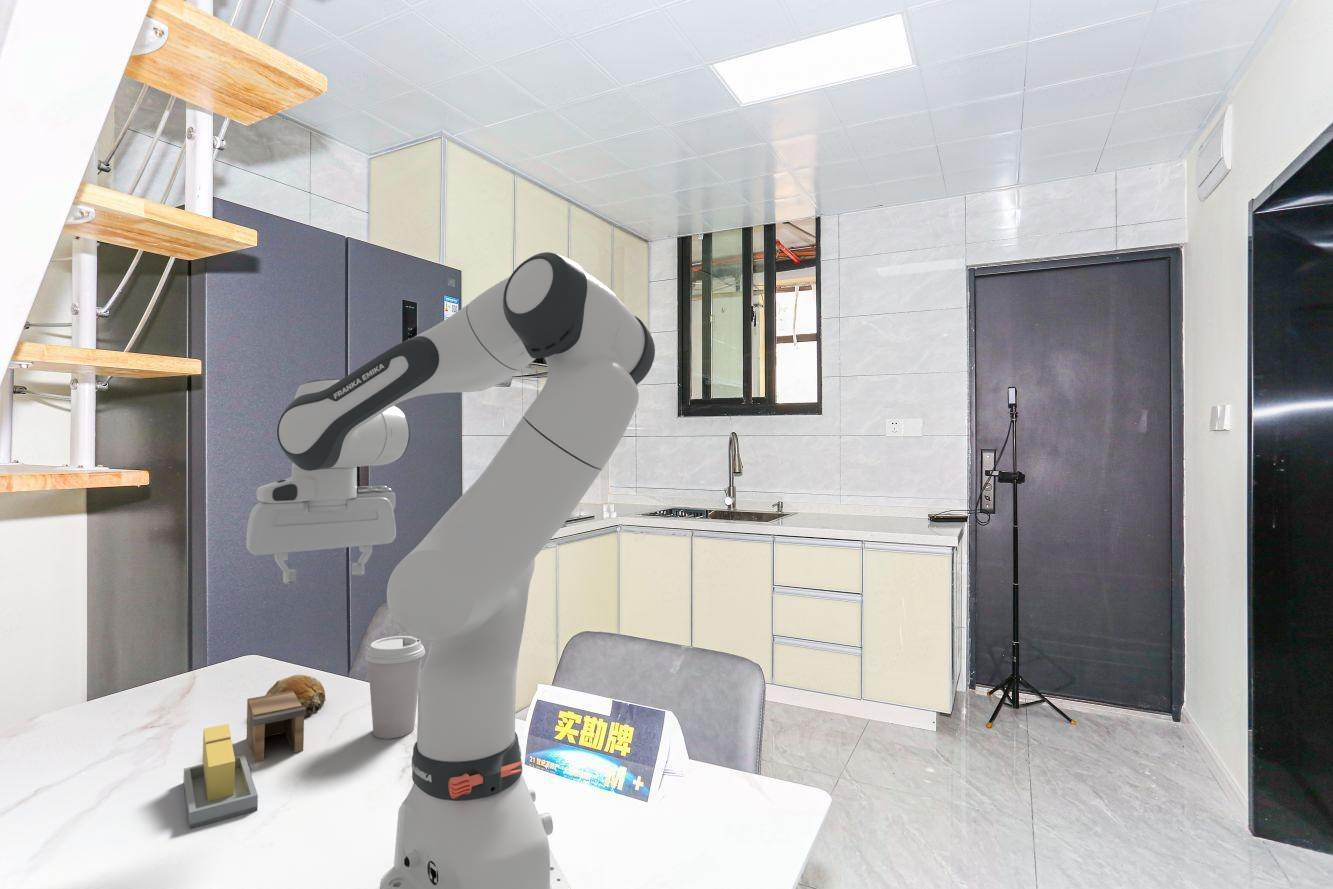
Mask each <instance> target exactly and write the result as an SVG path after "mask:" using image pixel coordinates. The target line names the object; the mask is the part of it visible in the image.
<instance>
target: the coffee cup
mask: <svg viewBox="0 0 1333 889" xmlns="http://www.w3.org/2000/svg"><path fill="white" fill-rule="evenodd" d="M421 641H422V640H420V639H417V638H414V637H412V636H410V635H394V636H388V637H387V636H386V637H383V638H380V639H376V640H374V641H372V642H371V643H370V645H369V648H368V650H367V651H366V652H365V657H364V659H365V661H367V664H368V678H369V693H370V705H371V707H370V708H371V719H372V721H371V722H372V732H373V736H374V737H376V738H379V739H383V738H384V739H386V740H387V739H396V738H401V737H405V736H407V735H409V734H411V733H412V732H413V731H414V730H415V726H416V725H415V724H416V715H417V708H418V682H419V677H420V673H421V670H422V662H423V661H422V660H423V656H425V654H426V650H425V647H424V645H423V644H422V642H421Z"/></svg>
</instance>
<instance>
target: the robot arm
mask: <svg viewBox="0 0 1333 889" xmlns="http://www.w3.org/2000/svg"><path fill="white" fill-rule="evenodd" d="M655 356H656V345H655V342H654V339H653V336H652V334H651V333H650V331H649V329H648V328H647V326H646V325H645V323H644V322H643V321H642V320H641V319H640V318H639V317H638V316H636V315H634V314H633V312H631V311H630V310H629V308H628V307H627V306H626V305H625V304H624V303H623V302H622V301H621V300H620V299H619V298H618V296H617V295H616V294H615V293H614V292H613V291H612V290H611V289H610V288H609V287H607V286H606V285H605V284H604V283H603V282H601V281H599V280H598V279H597V278H595V277H594V276H592V275H591V274H589V273H587V272H586V271H584V269H583V268H582V266H580V265H579V264H578V263H577V262H575V261H573V260H571V259H569V258H567V257H565V256H562V255H561V254H558V253H556V252H555V253H554V252H548V251H547V252H546V251H545V252H540V253H537V254H534V255H532V256H530V257H529V258H527V259H526V260H523V261H522V263H520V264H519V265H518V266H517V267H516V269H514V271H513V272H512V273H511V275H510V276H508V277H507V278H504V279H503V280H501V281H499V282H498V283H496V284H494V285H493V286H491V287H490V288H487V289H486V290H485V291H483V292H481V293H480V294H479V295H478V296H476V297H475V298H474V299H472V300H471V301H470V302H469V303H467V304H466V305H465V306H463V307H462V308H461V309H459V310H458V311H456V312H455V313H453V314H452V315H451V316H449V317H447V318H445V319H444V320H442V321H441V322H439V323H438V324H436V325H434V326H433V327H431V328H428V329H427V330H425V331H423V332H421V333H419V334H417V335H415V336H413V337H410V338H409V339H406V340H405V341H403V342H400V343H399V344H396V345H394V346H392V347H391V348H389V349H387V350H385V351H384V352H383V353H381V354H379V355H377V356H376V357H374V358H373V359H371V360H370V361H367V362H366V363H364V364H363V365H362V366H359V367H358V368H357V369H355V370H354V371H352V372H351V373H349V374H348V375H346V376H345V377H343V378H341V379H338V378H336V379H335V378H326V379H315V380H311V381H308V382H305V383H302V384H301V385H300V386H299V387H298V388H297V391H296V393H295V396H294V400H292V401H291V403H289V405H288V406H287V407H286V408H285V410H284V411H283V412H282V414H281V416H280V417H279V420H278V424H277V428H276V429H277V430H276V437H277V441H278V444H279V446H280V449H281V450H282V452H283V454H284V455H286V457H287V458H288V459H289V461H291V462H292V464H291V476H290V477H287V478H285V479H284V478H283V479H280V480H279V479H278V480H277V481H274V482H270V483H267V484H265V485H262V486H259V487H258V488H257V489H256V492H255V493H256V494H255V495H256V499H257V500H258V501H259V502H258V503H256V504H255V505H254V506H253V508H252V509H251V511H250V513H249V517H248V522H247V527H246V539H245V543H246V544H245V546H246V550H247V551H248V552H249V553H250V554H252V555H254V556H263V555H264V556H265V555H274V561H275V563H276V564H277V565H278V566H279V568H280V569H281V571H282V582H283V583H284V585H286V584H294V583H297V574H298V573H297V572H298V571H297V570H296V569H289V566H287V564H286V563H285V561H288V560H289V553H297V552H309V551H318V550H319V551H320V550H331V549H332V550H333V549H342V548H354V547H358V548H359V552H361V555H360V556H359V558H358V560H357V562H352V563H351V569H352V570H351V575H352V576H354V577H356V576H365V573H366V570H365V569H366V565H365V564H366V563H367V562H368V560H369V558H370V557H371V555H372V553H373V546H375V545H377V546H379V545H388V544H392V542H394V541H395V539H396V536H397V525H396V518H395V512H394V511H395V509H396V504H397V502H396V494H395V491H393V490H392V489H391V488H389V487H387V486H386V485H374V486H372V485H358V481H357V480H358V478H357V477H358V476H357V475H358V468H357V467H359V468H361V467H373V466H374V467H377V466H385V465H389V464H393V463H395V462H397V461H399V460H400V459H401V458H402V457H403V456H404V454H405V452H406V451H407V449H408V447H409V445H410V440H411V427H410V422H409V419H408V417H407V416H406V414H405V413H404V412H403V410H402V409H401V408H400V407H398V406H397V405H398V404H400V403H401V402H404V401H406V400H409V399H412V398H415V397H420V396H421V397H422V396H425V395H434V394H448V393H450V394H451V393H474V392H475V393H476V392H482V391H485V390H488V389H491V388H493V387H495V386H497V385H499V384H501V383H504V382H507V380H509V379H511V378H512V377H513V376H515V375H516V374H518V373H519V372H521V371H522V370H523V369H524V368H526V367H527V366H528V365H530V364H531V363H532V362H534V361H535V360H536V359H544V360H545V362H546V366H547V367H546V368H547V377H546V381H545V383H544V385H543V387H542V389H541V390H540V392H539V394H538V395H537V396H536V398H535V399H533V400H534V401H533V402H532V403H531V404H530V405H529V407H528V408H527V409H526V411H525V413H524V414H523V415H522V417H521V418H520V419H519V421H518V423H517V424H516V425H515V427H514V429H513V430H512V431H511V433H509V436H508V437H507V438H506V440H505V441H504V442H503V444H502V446H501V447H500V449H499V450H498V451H497V452H496V454H495V455H494V457H493V458H492V460H491V462H490V463H489V464H488V465H487V467H486V468H485V469H484V471H483V472H482V473H481V474H480V475H479V477H478V478H476V480H474V482H473V483H472V484H471V485H470V487H469V488H468V489H467V490H466V491H465V492H464V493H463V494H462V495H461V496H460V497H459V498H458V499H457V500H456V502H454V503H453V504H452V506H450V508H449V509H448V510H447V511H446V512H445V513H444V515H443V516H442V517H440V519H439V521H438V522H436V524H435V525H434V526H433V528H431V530H430V531H429V532H428V533H427V534H426V535H425V537H424V538H423V539H422V540H421V541H420V542H419V543H418V544H417V546H416V547H414V548H413V549H412V550H410V552H409V553H408V554H407V555H405V557H403V559H401V561H399V563H397V565H396V566H395V567H394V568H393V570H392V571H391V572H392V573H391V575H390V576H389V579H388V583H387V586H386V602H387V607H388V611H389V614H390V615H391V618H392V619H393V621H394V623H395V624H396V625H397V627H399V628H400V629H401V630H402V631H403V632H404V633H405V634H406V635H407V636H411V637H414V638H417V639H420V641H424V642H425V641H426V642H431V643H430V647H429V650H428V654H427V657H426V659H425V662H424V664H423V666H422V667H421V671H420V677H419V682H418V698H417V726H416V728H417V730H416V732H417V734H416V736H417V738H416V742H415V743H414V745H413V748H412V750H413V751H412V755H411V765H410V766H411V771H412V773H411V779H412V781H413V784H412V786H411V789H410V791H409V793H408V794H407V796H406V798H405V799H404V800H403V802H402V803H401V804H400V806H399V808H398V813H397V814H398V815H397V824H396V836H395V846H394V858H393V859H394V860H393V867H392V868H390V869H389V870H388V871H387V872H386V873H385V874H384V875H383V876H382V878H381V879H380V882H379V889H571V888H572V887H571V886H570V883H569V882H568V880H567V878H566V877H565V874H564V873H563V870H562V868H561V867H560V865H559V863H558V861H557V860H556V858H555V856H554V854H553V853H552V850H551V849H550V844H549V838H548V836H549V835H552V833H553V831H554V824H553V817H552V815H551V814H550V812H544V813H541V814H539V813H538V810H537V806H536V805H535V802H536V791H535V790H534V789H529V788H528V785H527V783H526V781H525V779H524V778H525V777H524V776H523V761H522V750H521V746H520V743H519V735H518V733H517V732H516V704H517V702H516V701H517V700H516V699H517V698H516V697H517V671H518V664H519V656H520V649H521V645H522V644H521V643H522V639H523V633H524V628H525V621H526V615H527V607H528V599H529V593H530V592H529V591H530V587H531V586H530V585H531V581H532V578H533V574H534V571H535V567H536V566H535V565H536V558H537V556H538V555H539V554H540V553H541V551H542V550H543V548H545V546H546V545H547V544H548V543H549V541H550V540H551V539H552V538H553V537H554V536H555V534H556V533H558V531H560V529H561V528H562V527H563V526H564V524H565V523H566V521H567V520H568V519H569V518H570V516H571V515H572V513H573V512H574V510H575V508H576V507H577V506H578V505H579V503H580V502H581V501H582V499H583V498H584V496H585V494H586V493H587V492H588V490H589V489H590V487H591V486H592V485H593V484H594V482H595V480H596V479H597V477H598V476H599V475H600V473H601V472H602V470H603V469H604V468H605V466H606V464H607V463H608V462H609V460H610V458H611V457H612V455H613V454H614V452H615V450H616V448H618V445H619V443H620V442H621V440H622V438H623V436H624V435H625V433H626V430H627V429H628V427H629V424H630V422H631V421H632V418H633V416H634V414H635V411H636V409H637V406H638V403H639V398H640V396H639V395H640V394H639V389H638V387H637V386H638V385H639V384H640V383H641V382H642V381H643V380H644V379H645V378H646V376H647V375H648V374H649V372H650V370H651V369H652V367H653V363H654V360H655Z"/></svg>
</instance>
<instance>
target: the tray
mask: <svg viewBox="0 0 1333 889" xmlns="http://www.w3.org/2000/svg"><path fill="white" fill-rule="evenodd" d="M234 757H235V779H234V795H231V796H227V797H223V798H219V799H215V800H211V801H207V794H206V786H205V777H204V769H203V763H202V764H198V765H193V766H188V767H186V768H183V789H184V797H185V798H184V799H185V806H186V814H187V822H188V829H189V830H190V829H193V828H197V827H201V826H204V825H209V824H211V823H215V822H219V821H222V820H227V819H231V818H233V817H237V816H240V815H244V814H249V813H252V812H255V811H258V804H259V803H258V802H259V800H258V799H259V797H258V796H259V795H258V792H257V788H256V785H255V782H254V779H253V776H252V772H251V771H250V767H249V764H248V760H247V758H246V754H241V755H237V756H234Z"/></svg>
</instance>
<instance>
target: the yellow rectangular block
mask: <svg viewBox="0 0 1333 889" xmlns="http://www.w3.org/2000/svg"><path fill="white" fill-rule="evenodd" d="M202 736H203V739H202V764H203V769H204V777H205V786H206V794H207V801H211V800H215V799H219V798H223V797H227V796H231V795H234V779H235V757H236V756H235V753H234V751H235V750H234V747H233V742H232V741H233V740H232V736H231V732H230V725H229V723H226V724H221V725H217V726H211V727H207V728H203V734H202Z"/></svg>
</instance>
